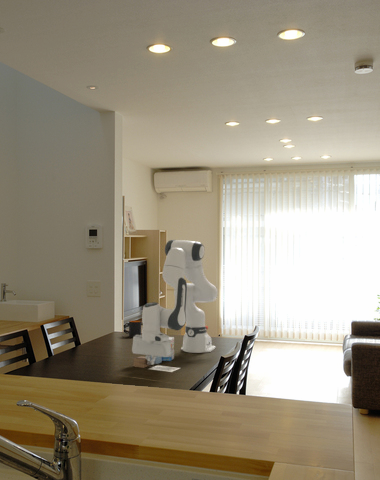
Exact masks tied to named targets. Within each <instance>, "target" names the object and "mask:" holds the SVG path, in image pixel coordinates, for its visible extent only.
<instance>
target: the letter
mask: <svg viewBox="0 0 380 480" xmlns="http://www.w3.org/2000/svg"><path fill="white" fill-rule="evenodd" d="M180 369H181V367H173V366H166V365H159V364H156V365H155V366H152V367H149V368H148V370H153V371H160V372H169V373H173V372H176V371H178V370H180Z"/></svg>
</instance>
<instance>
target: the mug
mask: <svg viewBox="0 0 380 480" xmlns="http://www.w3.org/2000/svg"><path fill="white" fill-rule="evenodd" d="M127 325H128V332H127V331H126V326H127ZM123 327H124V328H123V329H124V333H125V334H126V335H127V334H128V337H129V338H133V337H134V336H135V335H142V320H135V319H134V320H129V321H128V322H126V323H125V324H124V326H123ZM135 337H136V336H135Z"/></svg>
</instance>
